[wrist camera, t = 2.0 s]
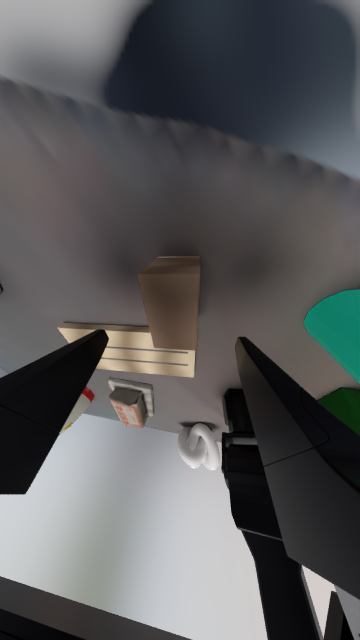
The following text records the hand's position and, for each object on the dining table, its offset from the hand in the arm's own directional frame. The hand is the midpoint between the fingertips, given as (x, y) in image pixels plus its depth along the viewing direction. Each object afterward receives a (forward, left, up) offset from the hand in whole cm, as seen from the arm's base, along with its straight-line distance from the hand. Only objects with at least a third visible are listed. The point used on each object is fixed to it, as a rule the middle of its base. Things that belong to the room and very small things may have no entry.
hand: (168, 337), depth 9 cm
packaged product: (+13, +30, -8) cm, 34 cm away
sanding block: (0, 0, -7) cm, 7 cm away
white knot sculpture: (-5, +46, -8) cm, 47 cm away
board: (+8, +10, -7) cm, 15 cm away
